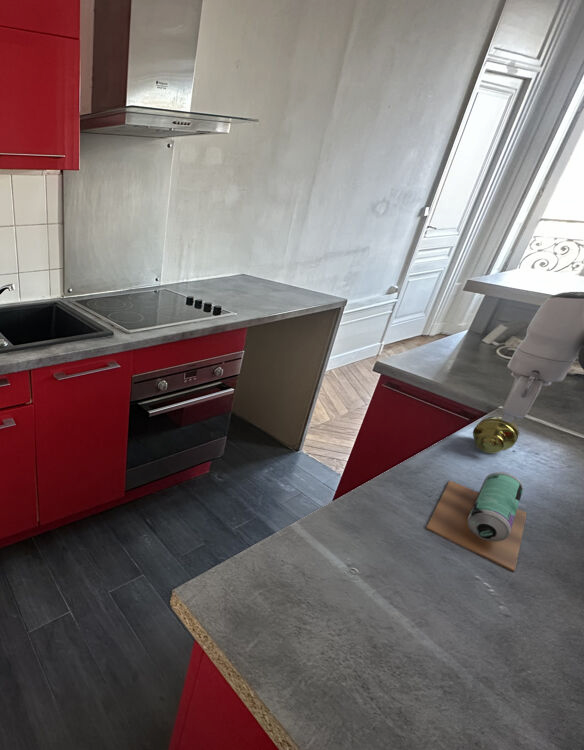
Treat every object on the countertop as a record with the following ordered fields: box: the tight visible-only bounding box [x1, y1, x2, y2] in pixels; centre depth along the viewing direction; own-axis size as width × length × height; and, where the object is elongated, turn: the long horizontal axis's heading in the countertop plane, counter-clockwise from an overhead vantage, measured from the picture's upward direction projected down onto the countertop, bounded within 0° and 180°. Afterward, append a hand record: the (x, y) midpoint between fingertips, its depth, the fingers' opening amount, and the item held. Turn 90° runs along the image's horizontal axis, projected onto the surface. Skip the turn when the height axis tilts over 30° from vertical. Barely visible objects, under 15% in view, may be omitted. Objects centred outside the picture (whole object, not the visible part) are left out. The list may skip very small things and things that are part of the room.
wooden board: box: [425, 480, 528, 573], centre depth 78 cm, size 20×12×1 cm, turn 131°
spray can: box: [468, 472, 524, 542], centre depth 77 cm, size 6×6×20 cm
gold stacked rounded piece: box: [472, 416, 520, 454], centre depth 97 cm, size 7×7×10 cm
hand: (507, 419), depth 95 cm, fingers closed
